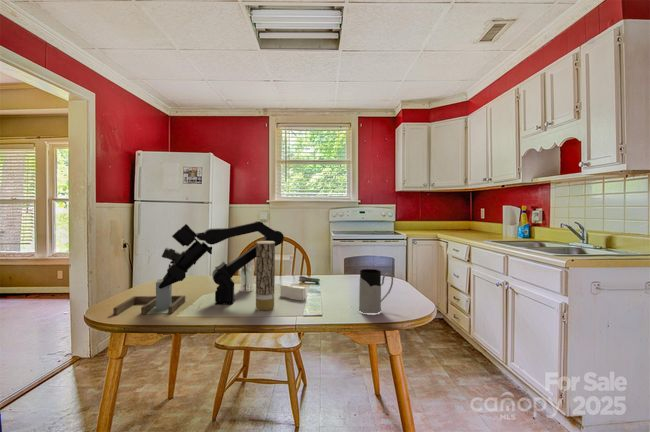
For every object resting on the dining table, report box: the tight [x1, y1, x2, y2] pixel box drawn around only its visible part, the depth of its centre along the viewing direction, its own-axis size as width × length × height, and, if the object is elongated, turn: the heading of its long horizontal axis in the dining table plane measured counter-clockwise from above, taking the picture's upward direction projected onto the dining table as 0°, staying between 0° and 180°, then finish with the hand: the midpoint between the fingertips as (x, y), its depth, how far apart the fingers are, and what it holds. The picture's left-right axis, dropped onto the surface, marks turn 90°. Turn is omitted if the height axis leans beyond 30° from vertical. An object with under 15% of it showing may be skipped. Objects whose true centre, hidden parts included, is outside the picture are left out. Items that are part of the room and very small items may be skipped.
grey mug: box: [358, 268, 394, 313], centre depth 121 cm, size 9×14×15 cm, turn 113°
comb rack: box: [113, 294, 186, 316], centre depth 121 cm, size 19×15×2 cm
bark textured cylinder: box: [255, 240, 276, 312], centre depth 122 cm, size 7×7×25 cm
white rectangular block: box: [279, 283, 307, 301], centre depth 139 cm, size 15×11×6 cm
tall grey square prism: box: [155, 278, 173, 310], centre depth 121 cm, size 4×4×10 cm
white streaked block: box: [238, 258, 256, 293], centre depth 149 cm, size 7×7×15 cm
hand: (160, 286), depth 121 cm, fingers open, 6 cm apart
